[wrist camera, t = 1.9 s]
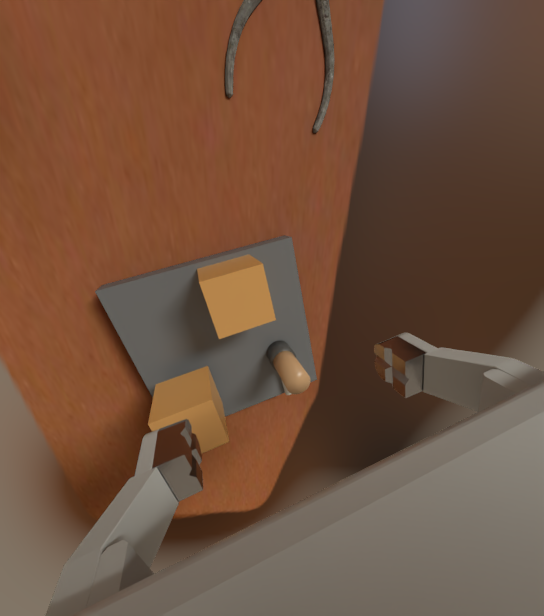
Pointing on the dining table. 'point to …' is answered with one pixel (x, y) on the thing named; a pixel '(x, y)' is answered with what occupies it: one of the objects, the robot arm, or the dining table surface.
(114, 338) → the dining table surface
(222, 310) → the tan wooden toy brick
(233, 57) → the pliers
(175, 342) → the board
